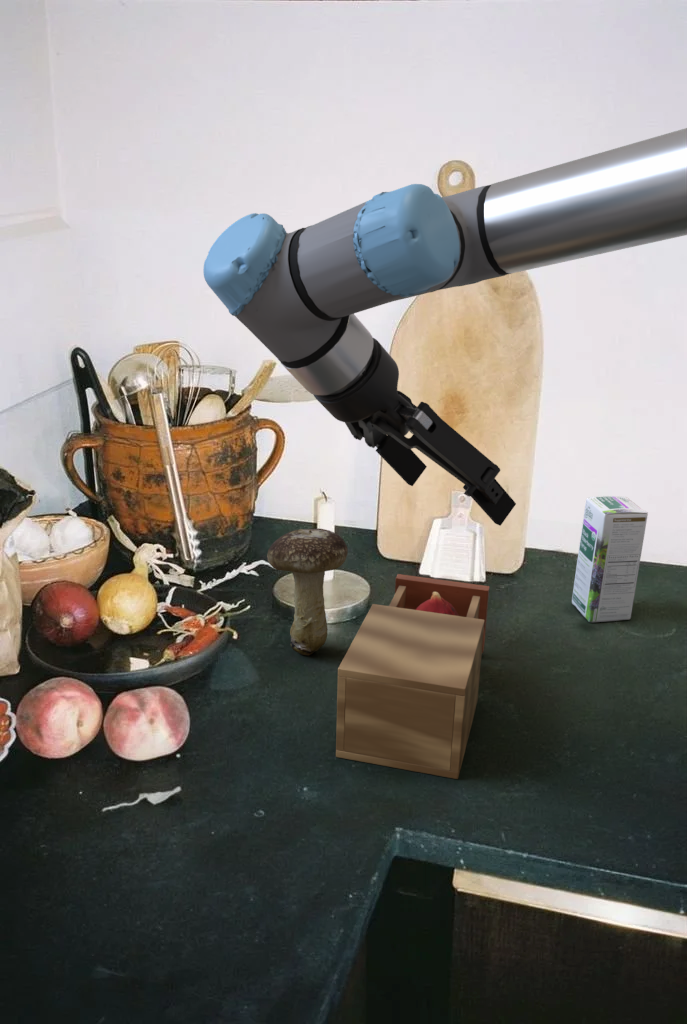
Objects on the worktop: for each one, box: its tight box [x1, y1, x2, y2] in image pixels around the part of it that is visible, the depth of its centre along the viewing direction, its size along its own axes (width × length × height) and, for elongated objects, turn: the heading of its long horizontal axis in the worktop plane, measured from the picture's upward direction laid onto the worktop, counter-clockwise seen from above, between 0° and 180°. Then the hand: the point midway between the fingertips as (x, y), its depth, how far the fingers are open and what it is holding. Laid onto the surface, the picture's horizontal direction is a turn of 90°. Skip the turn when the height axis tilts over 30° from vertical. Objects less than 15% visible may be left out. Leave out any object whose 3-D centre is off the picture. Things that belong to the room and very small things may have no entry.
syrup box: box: [571, 495, 649, 623], centre depth 115 cm, size 6×6×14 cm
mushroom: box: [266, 528, 349, 656], centre depth 103 cm, size 9×9×15 cm
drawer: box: [388, 573, 490, 654], centre depth 103 cm, size 17×10×8 cm, turn 165°
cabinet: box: [335, 603, 485, 780], centre depth 91 cm, size 14×12×10 cm
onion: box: [416, 592, 459, 616], centre depth 100 cm, size 6×6×8 cm
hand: (459, 493), depth 97 cm, fingers open, 13 cm apart
